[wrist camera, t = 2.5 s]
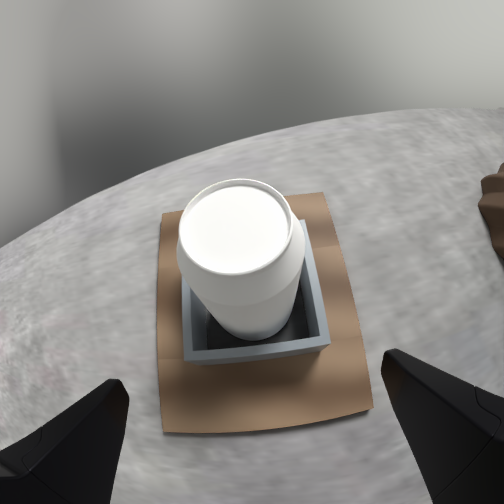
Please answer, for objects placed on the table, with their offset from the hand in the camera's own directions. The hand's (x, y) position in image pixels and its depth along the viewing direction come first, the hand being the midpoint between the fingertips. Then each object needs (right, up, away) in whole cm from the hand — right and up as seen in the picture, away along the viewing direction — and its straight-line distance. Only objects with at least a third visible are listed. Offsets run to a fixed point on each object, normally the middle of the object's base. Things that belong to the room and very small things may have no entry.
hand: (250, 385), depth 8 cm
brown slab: (0, 0, +14) cm, 14 cm away
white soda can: (0, 0, +14) cm, 14 cm away
